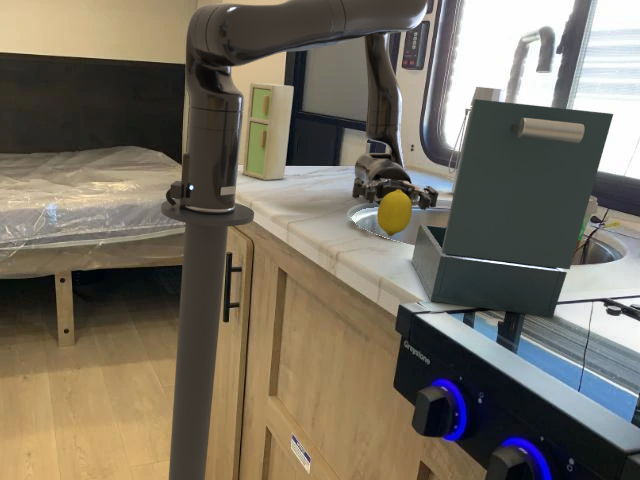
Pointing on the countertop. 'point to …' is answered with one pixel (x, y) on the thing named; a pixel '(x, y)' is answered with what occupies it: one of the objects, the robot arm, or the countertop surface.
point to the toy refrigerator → (267, 130)
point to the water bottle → (479, 94)
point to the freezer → (484, 278)
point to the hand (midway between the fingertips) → (398, 200)
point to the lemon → (394, 212)
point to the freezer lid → (524, 182)
